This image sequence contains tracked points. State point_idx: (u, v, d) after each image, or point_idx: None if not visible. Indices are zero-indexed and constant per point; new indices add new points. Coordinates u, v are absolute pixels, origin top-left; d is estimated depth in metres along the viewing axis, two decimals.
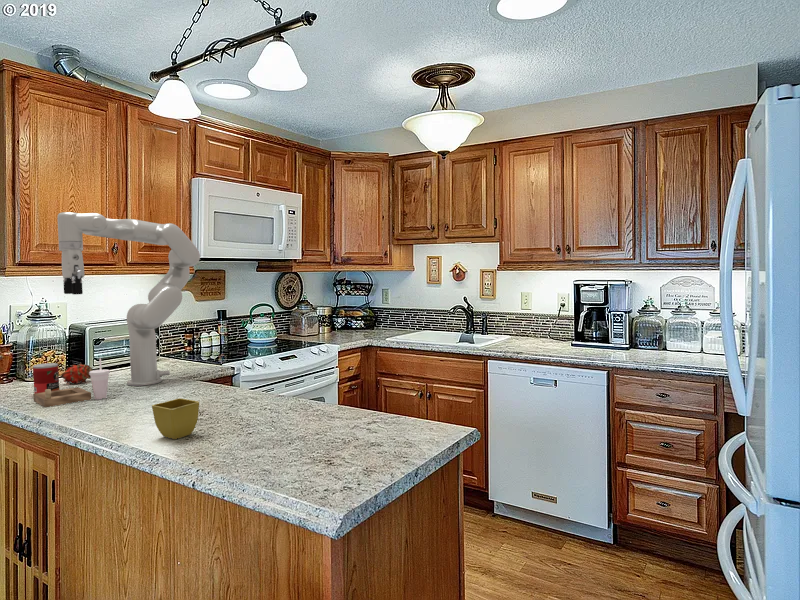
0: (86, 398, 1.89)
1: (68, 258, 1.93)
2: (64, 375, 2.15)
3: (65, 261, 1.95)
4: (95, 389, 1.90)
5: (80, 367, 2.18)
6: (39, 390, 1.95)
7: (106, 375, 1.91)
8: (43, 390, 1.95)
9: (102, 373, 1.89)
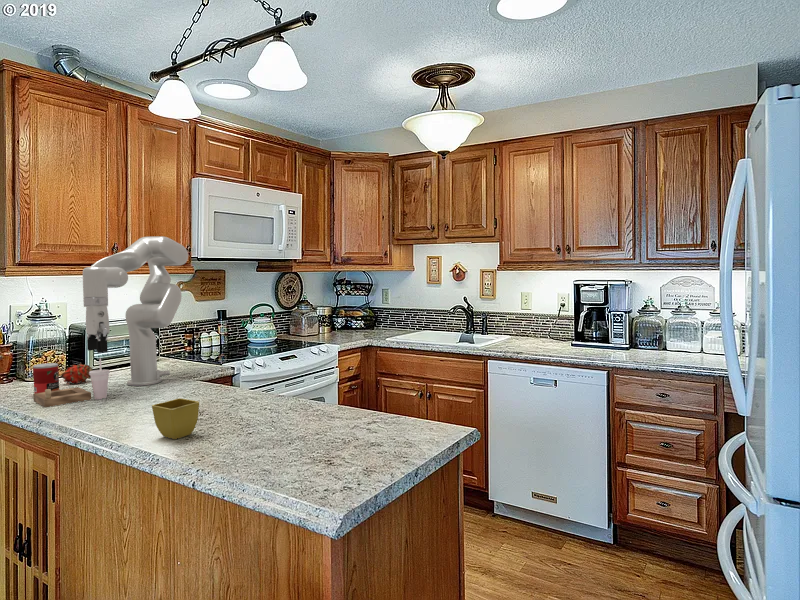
0: (86, 398, 1.89)
1: (93, 315, 1.86)
2: (64, 375, 2.15)
3: (90, 318, 1.87)
4: (95, 389, 1.90)
5: (80, 367, 2.18)
6: (39, 390, 1.95)
7: (106, 375, 1.91)
8: (43, 390, 1.95)
9: (102, 373, 1.89)
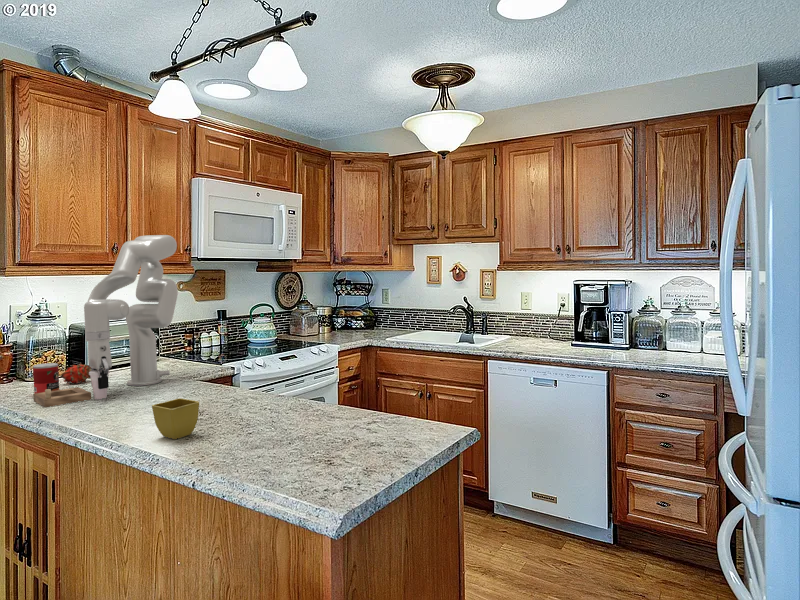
0: (86, 398, 1.89)
1: (95, 350, 1.87)
2: (64, 375, 2.15)
3: (92, 352, 1.88)
4: (95, 389, 1.90)
5: (80, 367, 2.18)
6: (39, 390, 1.95)
7: None
8: (43, 390, 1.95)
9: None
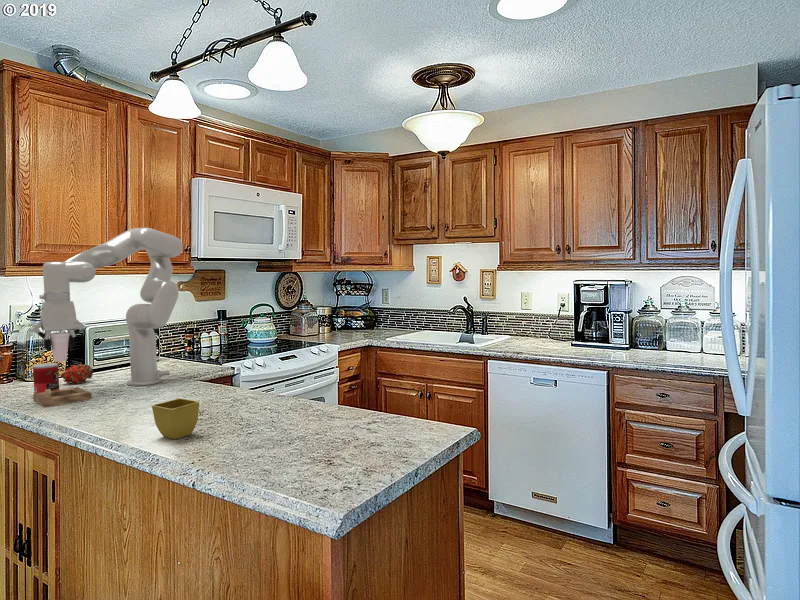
0: (86, 398, 1.89)
1: None
2: (64, 375, 2.15)
3: None
4: None
5: (80, 367, 2.18)
6: (39, 390, 1.95)
7: (52, 338, 1.86)
8: (43, 390, 1.95)
9: None
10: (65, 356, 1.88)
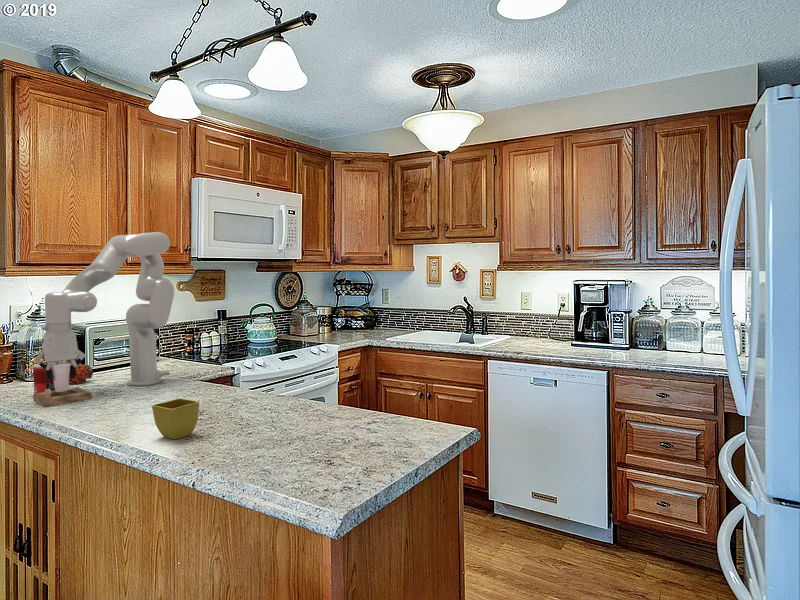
0: (86, 398, 1.89)
1: None
2: None
3: None
4: None
5: (80, 367, 2.18)
6: (39, 390, 1.95)
7: (54, 369, 1.86)
8: (43, 390, 1.95)
9: None
10: (66, 386, 1.89)
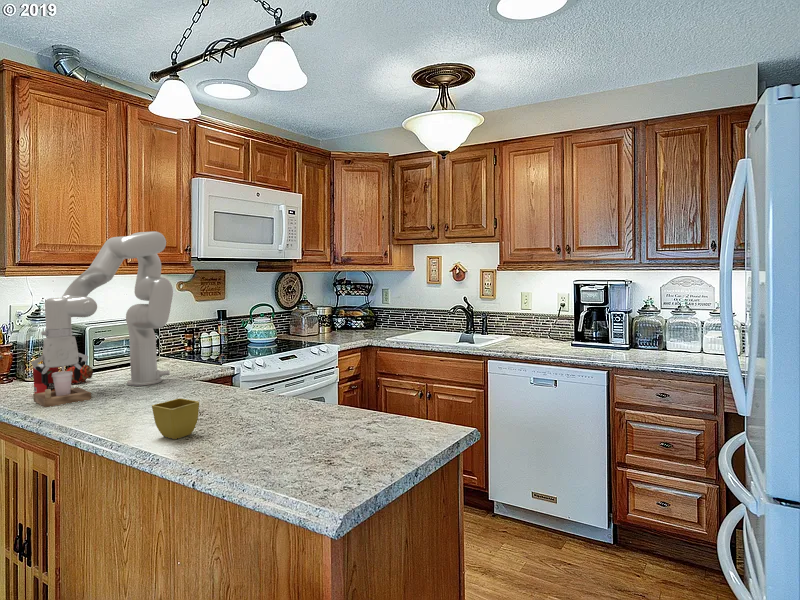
0: (86, 398, 1.89)
1: None
2: None
3: None
4: None
5: None
6: (39, 390, 1.95)
7: (55, 378, 1.87)
8: (43, 390, 1.95)
9: None
10: None
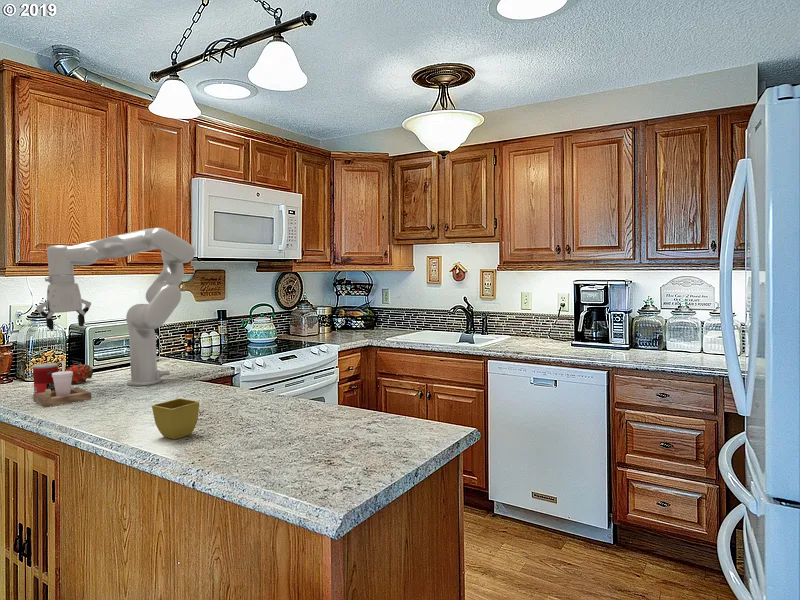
0: (86, 398, 1.89)
1: None
2: None
3: None
4: None
5: (80, 367, 2.18)
6: (39, 390, 1.95)
7: (55, 378, 1.87)
8: (43, 390, 1.95)
9: (52, 375, 1.87)
10: None
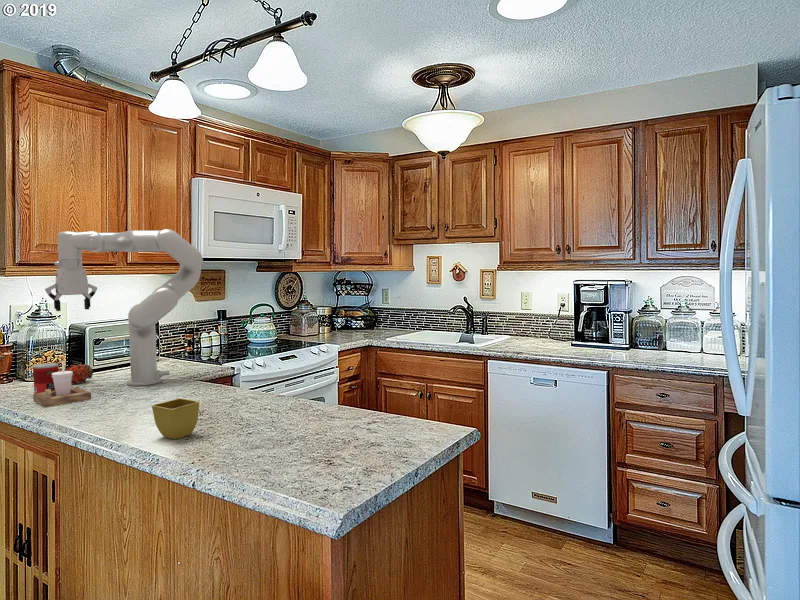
0: (86, 398, 1.89)
1: None
2: None
3: None
4: None
5: (80, 367, 2.18)
6: (39, 390, 1.95)
7: (55, 378, 1.87)
8: (43, 390, 1.95)
9: None
10: None
